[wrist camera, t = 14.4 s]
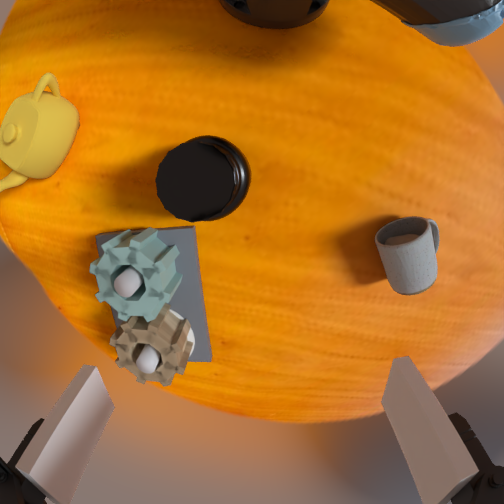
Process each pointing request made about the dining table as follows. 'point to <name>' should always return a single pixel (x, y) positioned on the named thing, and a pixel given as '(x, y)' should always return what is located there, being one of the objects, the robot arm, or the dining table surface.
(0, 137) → the teapot
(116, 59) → the dining table surface
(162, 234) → the gear board
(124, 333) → the birch gear
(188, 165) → the ink bottle
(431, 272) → the ceramic mug
